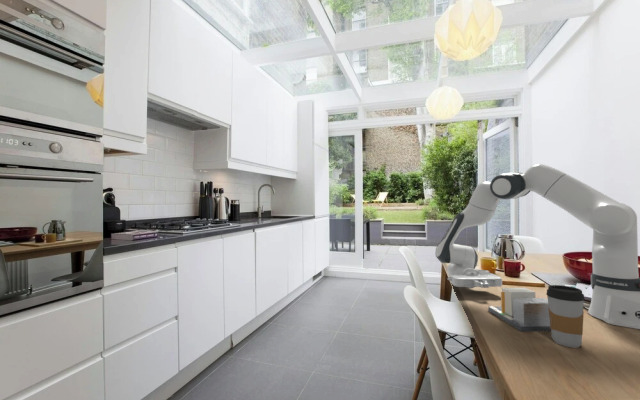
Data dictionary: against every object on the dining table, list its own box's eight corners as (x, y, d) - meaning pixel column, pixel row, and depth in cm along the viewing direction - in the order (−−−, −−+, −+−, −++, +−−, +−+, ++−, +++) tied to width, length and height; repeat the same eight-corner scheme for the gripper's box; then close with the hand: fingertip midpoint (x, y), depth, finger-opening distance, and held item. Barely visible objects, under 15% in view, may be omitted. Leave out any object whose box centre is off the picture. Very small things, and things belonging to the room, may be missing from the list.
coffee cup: (548, 333, 89) (546, 283, 89) (585, 341, 84) (583, 287, 84) (547, 343, 82) (545, 289, 83) (587, 352, 77) (585, 294, 77)
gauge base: (488, 310, 108) (487, 287, 109) (521, 310, 108) (520, 287, 108) (520, 331, 90) (520, 303, 91) (560, 331, 90) (559, 303, 91)
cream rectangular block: (496, 310, 104) (495, 287, 104) (524, 310, 104) (523, 287, 104) (506, 316, 98) (506, 292, 98) (536, 316, 98) (535, 292, 98)
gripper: (445, 270, 135) (459, 278, 121) (490, 270, 135) (510, 277, 121) (445, 284, 135) (459, 293, 121) (491, 284, 135) (510, 293, 121)
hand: (485, 285), depth 121 cm, fingers closed
